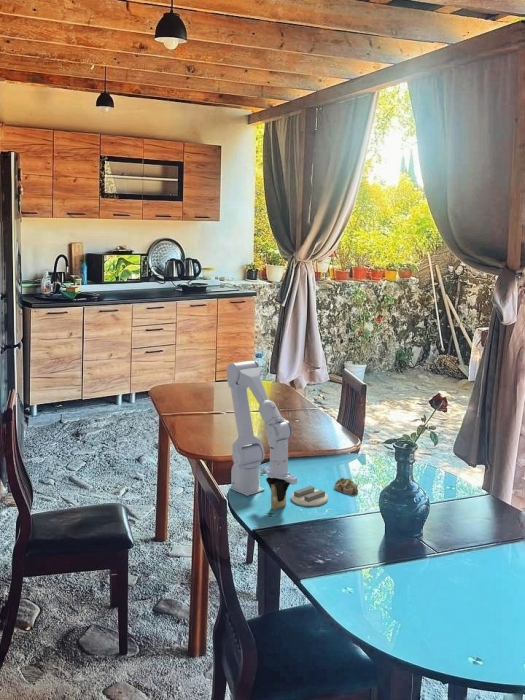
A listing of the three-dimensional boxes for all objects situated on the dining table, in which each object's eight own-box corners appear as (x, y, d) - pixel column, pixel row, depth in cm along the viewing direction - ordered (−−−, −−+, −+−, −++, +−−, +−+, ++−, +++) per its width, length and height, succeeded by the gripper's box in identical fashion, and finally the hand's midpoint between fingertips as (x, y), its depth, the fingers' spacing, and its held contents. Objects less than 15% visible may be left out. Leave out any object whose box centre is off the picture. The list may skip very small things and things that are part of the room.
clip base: (283, 498, 240) (283, 491, 239) (309, 488, 247) (309, 482, 247) (309, 509, 231) (309, 501, 230) (335, 499, 239) (335, 492, 238)
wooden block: (271, 508, 232) (271, 484, 230) (282, 504, 235) (282, 480, 233) (274, 509, 231) (274, 485, 229) (286, 505, 234) (286, 481, 232)
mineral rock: (328, 479, 250) (348, 471, 252) (330, 490, 251) (350, 481, 254) (342, 492, 240) (363, 482, 243) (345, 503, 242) (366, 494, 244)
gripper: (254, 456, 232) (254, 496, 235) (285, 468, 222) (285, 510, 224) (270, 451, 237) (270, 490, 240) (301, 462, 226) (301, 503, 229)
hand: (278, 499), depth 232 cm, fingers closed on wooden block, 2 cm apart
